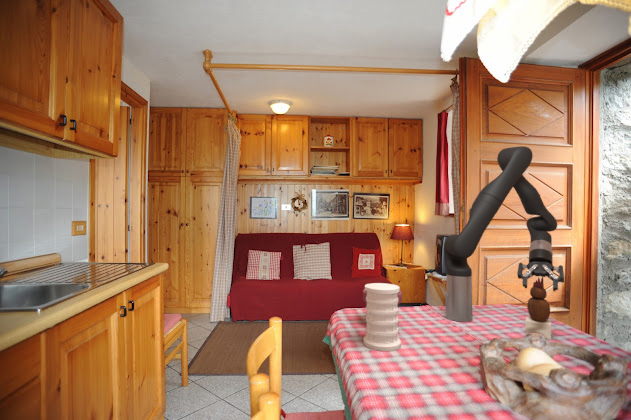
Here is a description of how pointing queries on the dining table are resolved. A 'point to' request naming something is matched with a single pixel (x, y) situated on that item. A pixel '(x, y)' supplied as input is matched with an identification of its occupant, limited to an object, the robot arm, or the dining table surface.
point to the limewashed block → (538, 327)
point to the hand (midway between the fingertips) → (539, 288)
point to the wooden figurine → (538, 302)
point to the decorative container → (382, 317)
